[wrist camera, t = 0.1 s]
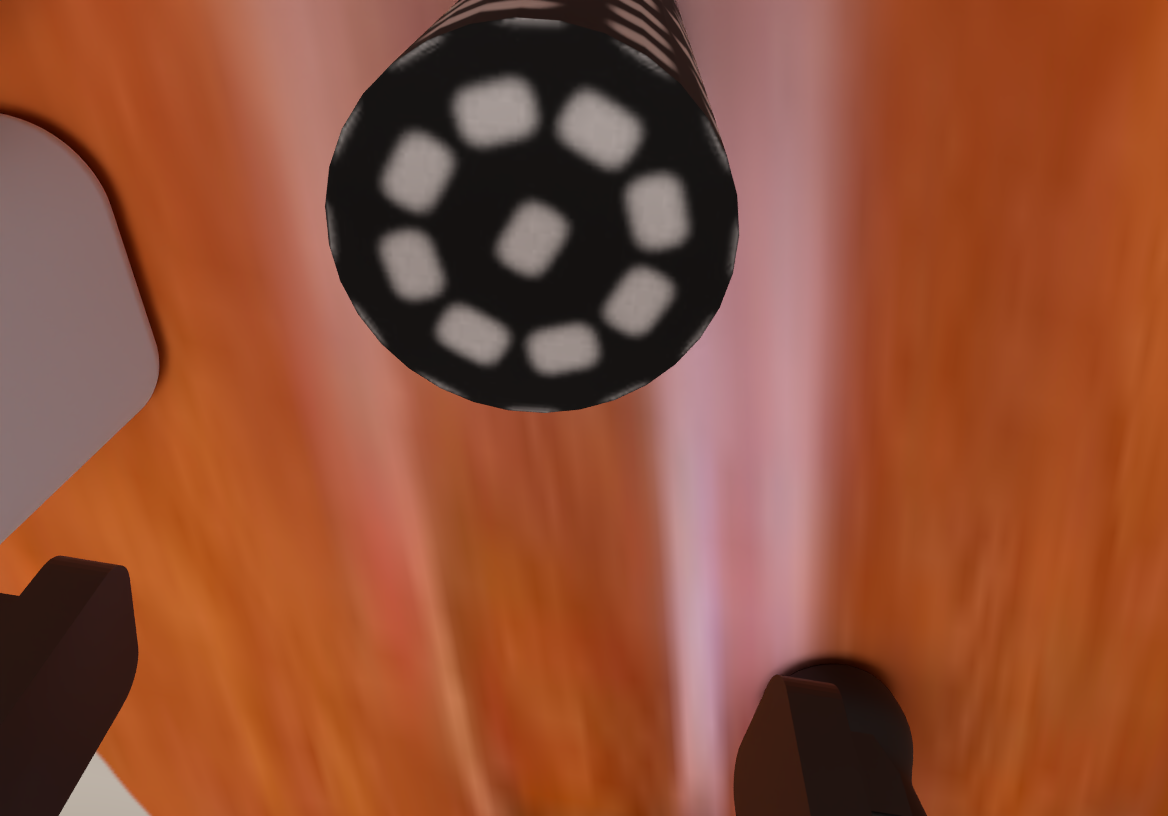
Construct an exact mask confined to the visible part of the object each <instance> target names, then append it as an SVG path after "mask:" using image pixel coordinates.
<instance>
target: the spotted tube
mask: <svg viewBox="0 0 1168 816" xmlns="http://www.w3.org/2000/svg"><path fill="white" fill-rule="evenodd" d="M325 209H326V219H327V228H328V238H329V246H330V249H331V252H332V255H333V258H334V262H335V265H336V268H337V271H338V275H339V278H340V281H341V283H342V285H343V287H344V289H345V290H346V292H347V294H348V296H349V298H350V300H351V302H352V304H353V306H354V307H355V309H356V311H357V313H358V315H359V316H360V317H361V319H362V320H363V321H364V322H365V324H366V325H367V326H368V327H369V329H370V330H371V331H372V332H373V334H374V335H375V336H376V338H377V339H378V340H379V341H380V343H381V344H382V345H383V346H385V347H386V348H387V349H388V350H389V351H390V352H391V353H392V354H394V355H395V356H396V357H397V358H398V359H399V360H400V361H401V362H402V363H404V364H405V365H406V366H407V367H408V368H409V369H411V370H412V371H414V372H416V373H417V374H419V375H420V376H422V377H424V378H425V379H427V380H428V381H430V382H432V383H433V384H435V385H436V386H438V387H439V388H442V389H444V390H446V391H449V392H451V393H454V394H456V395H458V396H461V397H463V398H465V399H468V400H470V401H473V402H476V403H480V404H484V405H489V406H493V407H497V408H501V409H505V410H512V411H526V412H540V413H548V412H558V411H569V410H579V409H583V408H587V407H591V406H594V405H598V404H602V403H605V402H609V401H613V400H616V399H618V398H620V397H622V396H624V395H626V394H628V393H630V392H633V391H635V390H637V389H639V388H641V387H643V386H645V385H647V384H648V383H650V382H651V381H653V380H654V379H655V378H657V377H658V376H660V375H661V374H662V373H664V372H665V371H667V370H668V369H669V368H671V367H672V366H674V365H675V364H676V363H677V362H678V361H679V360H680V359H681V358H682V357H683V356H684V355H685V354H686V353H687V351H688V350H689V349H690V348H691V347H692V346H693V345H694V344H695V343H696V342H697V341H698V340H699V339H700V338H701V336H702V334H703V333H704V331H705V330H706V328H707V327H708V325H709V323H710V322H711V320H712V319H713V317H714V316H715V314H716V312H717V311H718V309H719V308H720V305H721V303H722V300H723V297H724V295H725V292H726V290H727V287H728V284H729V282H730V279H731V276H732V274H733V269H734V263H735V257H736V251H737V245H738V238H739V224H738V202H737V193H736V189H735V185H734V182H733V178H732V174H731V170H730V166H729V162H728V159H727V155H726V152H725V149H724V146H723V143H722V140H721V137H720V134H719V131H718V128H717V125H716V122H715V119H714V116H713V113H712V110H711V107H710V104H709V101H708V98H707V95H706V92H705V88H704V85H703V82H702V79H701V76H700V73H699V70H698V67H697V64H696V61H695V58H694V55H693V52H692V49H691V46H690V43H689V40H688V37H687V34H686V31H685V28H684V25H683V22H682V19H681V16H680V13H679V10H678V7H677V4H676V1H675V0H459V1H458V2H457V3H456V4H454V5H453V6H452V7H451V8H450V9H449V10H448V11H447V12H446V13H445V14H444V15H443V16H442V17H441V18H440V19H439V20H438V21H436V22H435V23H434V24H433V25H432V26H431V27H430V28H429V29H428V30H427V31H426V32H425V33H424V34H423V35H422V36H421V37H420V38H419V39H417V40H416V41H415V42H414V43H413V44H412V45H411V46H410V47H409V48H408V49H407V50H406V51H405V52H404V53H403V54H402V55H401V56H399V57H398V58H397V59H396V60H395V61H394V62H393V63H392V64H391V65H390V66H389V67H388V68H387V69H386V70H385V71H384V72H383V73H382V75H381V76H380V77H379V78H378V79H377V80H376V81H375V82H374V83H373V84H372V85H371V86H370V87H369V88H368V89H367V90H366V91H365V92H364V93H363V95H362V96H361V98H360V100H359V101H358V103H357V105H356V106H355V108H354V110H353V111H352V113H351V115H350V116H349V118H348V120H347V121H346V123H345V125H344V126H343V128H342V130H341V133H340V136H339V139H338V142H337V145H336V148H335V151H334V154H333V157H332V160H331V163H330V166H329V175H328V184H327V194H326V203H325Z"/></svg>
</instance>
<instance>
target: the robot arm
mask: <svg viewBox="0 0 1168 816" xmlns="http://www.w3.org/2000/svg"><path fill="white" fill-rule="evenodd" d="M137 663H138V642H137V634H136V626H135V618H134V609H133V601H132V593H131V585H130V577H129V573H128V570H127V569H126V568H125V567H124V566H121V565H115V564H109V563H103V562H97V561H90V560H84V559H78V558H72V557H66V556H56V557H54V558H52V559H50V560H49V561H48V562H47V563H46V564H45V565H44V566H43V567H42V568H41V570H40V571H39V572H38V573H37V575H36V576H35V577H34V578H33V579H32V581H31V582H30V583H29V584H28V586H27V587H26V588H25V589H24V591H23V592H22V593H21V594H20V596H16V595H9V594H3V593H0V816H59V814H60V812H61V811H62V809H63V807H64V805H65V804H66V802H67V800H68V799H69V797H70V795H71V793H72V792H73V790H74V788H75V786H76V785H77V783H78V781H79V780H80V778H81V776H82V774H83V773H84V771H85V769H86V768H87V766H88V764H89V762H90V761H91V759H92V757H93V756H94V754H95V752H96V750H97V749H98V747H99V745H100V743H101V742H102V740H103V738H104V737H105V735H106V733H107V731H108V730H109V728H110V726H111V725H112V723H113V721H114V719H115V718H116V716H117V714H118V713H119V711H120V709H121V707H122V706H123V704H124V702H125V700H126V698H127V696H128V694H129V691H130V689H131V686H132V683H133V680H134V677H135V673H136V668H137ZM734 802H735V811H736V816H912V813H911V809H910V806H909V803H908V799H907V796H906V793H905V789H904V786H903V782H902V779H901V776H900V773H899V772H898V770H897V769H896V768H895V766H894V765H893V763H892V762H891V760H890V759H889V757H888V756H887V754H886V753H885V751H884V750H883V748H882V747H881V746H880V744H879V743H878V741H877V740H876V738H875V737H874V735H873V734H866V733H860V732H854V731H850V727H849V723H848V719H847V715H846V711H845V707H844V703H843V699H842V696H841V693H840V691H839V689H838V688H837V686H835V685H834V684H831V683H825V682H819V681H813V680H807V679H801V678H794V677H788V676H782V675H775V676H773V677H772V679H771V680H770V682H769V684H768V686H767V688H766V690H765V692H764V694H763V697H762V699H761V701H760V703H759V705H758V708H757V710H756V712H755V714H754V716H753V719H752V721H751V723H750V725H749V727H748V730H747V732H746V734H745V736H744V738H743V740H742V743H741V745H740V748H739V751H738V754H737V758H736V764H735V771H734Z"/></svg>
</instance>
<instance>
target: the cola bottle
mask: <svg viewBox="0 0 1168 816" xmlns="http://www.w3.org/2000/svg"><path fill="white" fill-rule="evenodd" d="M789 677H794V678H801V679H807V680H813V681H819V682H825V683H831V684H834V685H835V686H837V688H838V689H839V691H840V693H841V696H842V699H843V703H844V707H845V711H846V715H847V719H848V723H849V727H850V731H854V732H860V733H866V734H873V735H874V737H875V738H876V740H877V741H878V743H879V744H880V746H881V747H882V748H883V750H884V751H885V753H886V754H887V756H888V757H889V759H890V760H891V762H892V763H893V765H894V766H895V768H896V769H897V770H898V772H899V773H900V776H901V779H902V782H903V786H904V789H905V793H906V796H907V799H908V803H909V806H910V809H911V813H912V816H927V815H926V813H925V811H924V809H923V807H922V805H921V803H920V801H919V799H918V797H917V795H916V793H915V790H914V788H913V786H912V765H913V742H912V736H911V731H910V728H909V725H908V722H907V720H906V717H905V715H904V713H903V711H902V709H901V707H900V706H899V704H898V702H897V701H896V699H895V698H894V696H893V695H892V694H891V692H890V691H889V690H888V689H887V687H886V686H885V685H884V684H883V683H882V682H881V681H880V680H878V679H877V678H876V677H874V676H873V675H871V674H870V673H868V672H866V671H864V670H861V669H858V668H855V667H851V666H846V665H838V664H827V665H818V666H813V667H809V668H806V669H803V670H800V671H798V672H796V673H794V674H792V675H790V676H789Z"/></svg>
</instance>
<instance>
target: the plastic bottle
mask: <svg viewBox="0 0 1168 816" xmlns="http://www.w3.org/2000/svg"><path fill="white" fill-rule="evenodd" d="M158 376H159V355H158V349H157V345H156V342H155V339H154V336H153V333H152V330H151V327H150V324H149V320H148V317H147V314H146V311H145V308H144V305H143V302H142V299H141V296H140V293H139V290H138V287H137V284H136V281H135V278H134V275H133V272H132V269H131V266H130V263H129V260H128V257H127V253H126V250H125V247H124V244H123V241H122V238H121V235H120V232H119V229H118V226H117V223H116V220H115V217H114V214H113V211H112V208H111V205H110V202H109V200H108V197H107V195H106V193H105V191H104V189H103V187H102V185H101V184H100V182H99V180H98V179H97V177H96V176H95V174H94V173H93V171H92V170H91V169H90V168H89V167H88V165H87V164H86V163H85V162H84V161H83V160H82V159H81V157H80V156H79V155H78V154H77V153H76V152H74V151H73V150H72V149H71V148H70V147H69V146H68V145H66V144H65V143H64V142H63V141H61V140H60V139H59V138H57V137H56V136H54V135H53V134H51V133H49V132H48V131H46V130H44V129H43V128H41V127H39V126H37V125H35V124H32V123H30V122H27V121H25V120H22V119H19V118H16V117H13V116H9V115H5V114H1V113H0V544H1V543H2V542H3V541H4V540H5V539H6V538H7V537H8V536H9V535H10V534H11V533H12V532H13V531H15V530H16V529H17V528H18V527H19V526H20V525H21V524H22V523H23V522H24V521H25V520H26V519H27V518H28V517H29V516H30V515H31V514H32V513H33V512H34V511H35V510H37V509H38V508H39V507H40V506H41V505H42V504H43V503H44V502H45V501H46V500H47V499H48V498H49V497H50V496H51V495H52V494H53V493H54V492H55V491H56V490H57V489H59V488H60V487H61V486H62V485H63V484H64V483H65V482H66V481H67V480H68V479H69V478H70V477H71V476H72V475H73V474H74V473H75V472H76V471H77V470H78V469H79V468H80V467H82V466H83V465H84V464H85V463H86V462H87V461H88V460H89V459H90V458H91V457H92V456H93V455H94V454H95V453H96V452H97V451H98V450H99V449H100V448H101V447H102V446H104V445H105V444H106V443H107V442H108V441H109V440H110V439H111V438H112V437H113V436H114V435H115V434H116V433H117V432H118V431H119V430H120V429H121V428H122V427H123V426H124V425H126V424H127V423H128V422H129V421H130V420H131V419H132V418H133V417H134V416H135V415H136V414H137V413H138V412H139V411H140V410H141V409H142V408H143V407H144V406H145V405H146V403H147V402H148V401H149V399H150V398H151V396H152V394H153V392H154V389H155V387H156V384H157V381H158Z"/></svg>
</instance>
